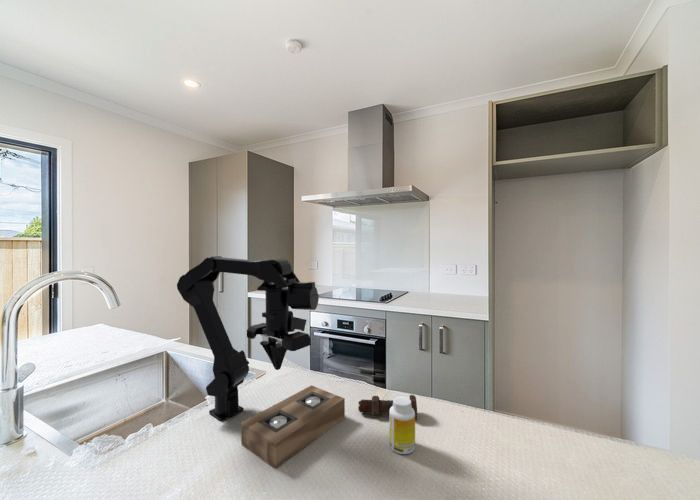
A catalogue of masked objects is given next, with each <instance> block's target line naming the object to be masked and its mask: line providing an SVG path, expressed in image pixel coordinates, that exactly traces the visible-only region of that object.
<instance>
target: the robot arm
mask: <svg viewBox="0 0 700 500" xmlns="http://www.w3.org/2000/svg"><path fill="white" fill-rule="evenodd" d="M221 273H227V274H235V275H236V274H237V275H247V276H251V277H255V278H256V279H258V280H261V281H262V283H261V285H259V286H257V288H256V289H257V291H261V292H262V291H263V292H265V312H262V313H261V317H262V318H264V319H265V322H262V323H258V324H252V325H249V327H248V328H247V329H246V338H248V339H252V340H254V339H256V337H257V335H260V336H261V338H262V341H260V342H259V344H260V345H261V346H262V347H263V349H264V351H265V353H266V355H267V357H268V358H269V360H270V362H271V364H272V366H273V368H274V370H277V371H279V370H281V369H282V368H281V367H282V365H283V362H284V359H285V356H286V353H287V351H289V352H295V351H298V350H301V349H304V348H307V347H310V346H311V344H312V343H311V338H312V337H311V335H309V333H306V332H305V327H306V324H307V319H304V318H302V317H301V318H300V317H295V316H294V313H293V311H292V310H307V311H315V310H316V309H317V307H318V304H319V299H320V298H319V296H320V295H319V292H318V289H317V287H316V282H315V281H308V282H303V281H300V279H299V278H298V277H297V275H296V274H295V272H294V271H293V269H292V265H291V263H290V261H289V260H288V259H286V258H273V259H272V258H271V259H264V260H263V259H262V260H254V259H244V258H234V257H232V258H230V257H222V256H218V255H217V256H208V257H206V258H205V259H203V260H202V261H201V263H199V264H197V265H196V266H194V267H193V268H191V269H190V270H188V271H187V272H186V273H185V274H182V275H181V276H179V279H178V281H177V282H176V288H177V290H178V292H179V294H180V296H181V297H182V299H183V301H185V302H186V303H187V304H189V305H190V306H191V307H192V308H193V309H194V311H195V314H196V316H197V318H198V321H199V323H200V327H201V329H202V331H203V332H204V335H205V338H206V340H207V343H208V345H209V348H210V350H211V352H212V355H213V366H212V372H213V377H214V379H212V380H211V381H210V382H209V384H208V385H206V387H205V390H206V394H207V395H208V396H209V397H214V408H211V409H210V410H209V411H208V413H209V414H210V415H211V416H213V417H214V418H216V419H217V420H219V421H221V422H222V421H223V422H224V421H225V420H226V419H229V418H230V417H233V416H235V415H237V414H239V413H240V412H243V411H244V407H243V406H241V405H239V404H240V403H239V388H238V386H239V387H240V385H241V384H243V383H244V381H245V379H246V378H247V376H248V374H249V371H250V366H249V364H250V362H249V360H248V359H247V356H246V353H245V351H244V350H240V351H238V350H237V349H235V348H234V346H233V345H232V342H231V340H230V338H229V335H228V333H227V331H226V329H225V326H224V323H223V321H222V319H221V315H220V314H219V311H218V309H217V307H216V304H215V303H214V295H215V294H214V292H215V288H214V287H215V286H214V284H213V283H215V282H216V280H218V278H219V276H220V274H221ZM290 308H291V309H292V310H290ZM296 330H298V331H296Z"/></svg>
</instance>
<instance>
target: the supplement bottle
mask: <svg viewBox="0 0 700 500" xmlns="http://www.w3.org/2000/svg"><path fill="white" fill-rule="evenodd" d="M392 400H393V406H392V407H391V408H390V411H389V416H388V417H389V422H388V423H389V445H390V448H391V449H392V450H393V451H394V452H395V453H397V454H400V455H408V454H411V453H413V451H415V449H416V420H415V411H414V409H413V408H412V406H411V400H410V397H406V396H402V395H400V396H396V397H394V398H393V399H392Z"/></svg>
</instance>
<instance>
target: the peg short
mask: <svg viewBox="0 0 700 500" xmlns="http://www.w3.org/2000/svg"><path fill="white" fill-rule="evenodd" d="M305 403H306V404H308V405H311V406H315V405H316V404H318V403H320V398H319V397H315V396H313V397H309V398H307V399H306V400H305Z"/></svg>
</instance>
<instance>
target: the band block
mask: <svg viewBox="0 0 700 500" xmlns="http://www.w3.org/2000/svg"><path fill="white" fill-rule="evenodd" d="M313 396H315V397H319V398H320V403H318V404H316V405H315V406H311V405H308V404H306V403H305V400H306V399H307V398H309V397H313ZM345 401H346V400H345V397H342V396H339V395H337V394H334V393H331V392H330V391H327V390H325V389H322V388H319V387H317V386H314V385H310V386H307V387H306V388H304V389H302V390H299V391H298V392H296V393H294V394H292V395H290V396H289V397H287V398H284V399H282V400H281V401H280V402H277V403H274V404H273V405H272V406H269V407H268V408H265V409H264V410H262V411H261V412H260V411H259V412H258V413H256V414H255V415H253V416H251V417H249V418H247V419H245V420H243V421H241V422H240V423H241V424H240V425H241V426H240V427H241V428H240V429H241V430H240V431H241V432H240V433H241V435H240V436H241V437H240V438H241V440H240V441H241V443H240V444H241V446H243V447H244V448H245V449H247V450H248V451H250V452H251V453H253V454H254V455H255V456H256V457H258V458H259V459H260V460H262V461H264V462H265V463H267V464H268V465H269V466H271V467H272V468H273V469H275V470H276V469H278V468H280V467H281V466H283V464H285V463H286V462H287V461H289V460H291V459H292V458H293V457H294V456H296V455H297V454H298V453H299V452H301V451H302V450H303V449H305V448H306V447H308V446H309V445H310V444H311V443H313V442H314V441H316V440H317V439H318V438H319V437H321V436H322V435H324V434H325V433H326V432H328V431H329V430H331V428H333V427H335V426H336V425H337V424H338V423H340V422H341V421H343V419H345V418H346V415H345V413H346V407H345V404H346V403H345ZM276 416H284V417H286V418H287V423H285V424H284V425H282V426H280V427H279V428H277V429H276V428H274V427H273V426H271V425H270V420H271V419H272V418H273V417H276Z"/></svg>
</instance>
